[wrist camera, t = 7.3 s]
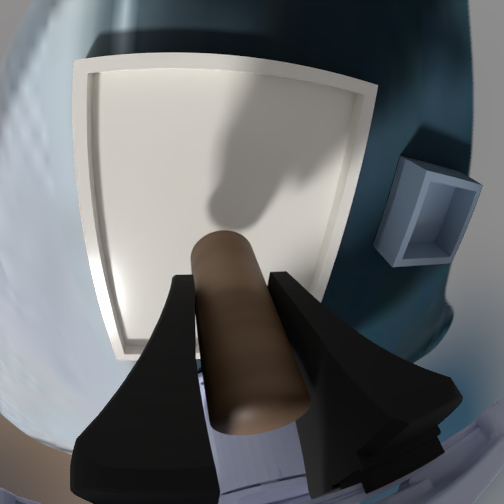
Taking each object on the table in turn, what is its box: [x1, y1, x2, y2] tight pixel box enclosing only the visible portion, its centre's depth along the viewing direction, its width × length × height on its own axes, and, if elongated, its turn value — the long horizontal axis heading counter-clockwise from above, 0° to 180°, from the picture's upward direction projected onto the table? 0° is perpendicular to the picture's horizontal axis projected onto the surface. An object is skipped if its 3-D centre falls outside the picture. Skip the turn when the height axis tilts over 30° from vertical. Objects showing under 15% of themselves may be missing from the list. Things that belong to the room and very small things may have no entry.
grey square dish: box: [373, 156, 482, 267], centre depth 15 cm, size 6×6×2 cm
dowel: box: [190, 230, 311, 436], centre depth 9 cm, size 3×3×7 cm
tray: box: [72, 52, 378, 360], centre depth 14 cm, size 16×12×1 cm
